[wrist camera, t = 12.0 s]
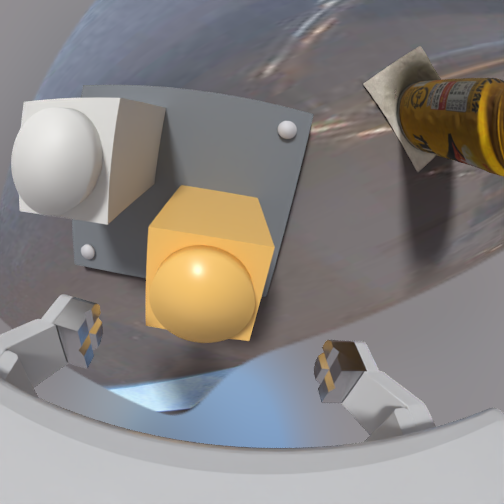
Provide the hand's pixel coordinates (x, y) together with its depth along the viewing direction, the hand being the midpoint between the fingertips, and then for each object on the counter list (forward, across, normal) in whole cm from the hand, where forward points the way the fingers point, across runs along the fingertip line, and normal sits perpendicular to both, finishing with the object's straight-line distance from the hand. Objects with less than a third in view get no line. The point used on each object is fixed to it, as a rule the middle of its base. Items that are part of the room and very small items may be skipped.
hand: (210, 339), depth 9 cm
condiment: (+13, -13, -13) cm, 23 cm away
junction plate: (+12, +4, -2) cm, 13 cm away
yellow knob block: (+11, +1, 0) cm, 11 cm away
